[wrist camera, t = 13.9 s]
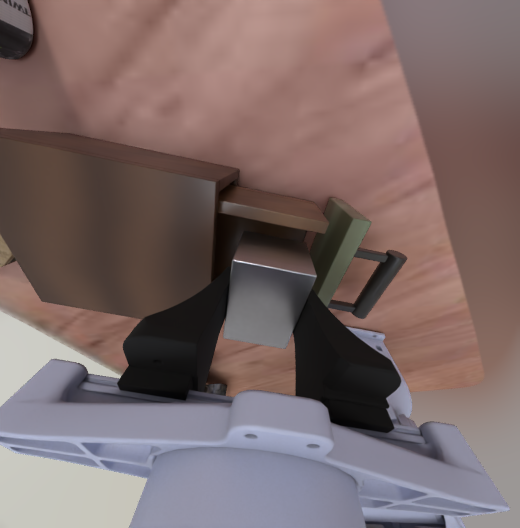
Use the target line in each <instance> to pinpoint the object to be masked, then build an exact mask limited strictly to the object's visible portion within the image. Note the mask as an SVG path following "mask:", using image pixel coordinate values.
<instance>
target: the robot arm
mask: <svg viewBox="0 0 520 528" xmlns="http://www.w3.org/2000/svg"><path fill="white" fill-rule="evenodd" d="M230 275H231V267H230V266H228V267H227V268H226V269H225V270H224V271H223V272H222V273H221V274H220V275H219V276H218V277H217V278H216V279H215V280H214V281H213V282H211V283H210V284H209V285H208V286H206V287H205V288H204V289H203V290H201V291H200V292H198V293H197V294H195V295H194V296H192V297H190V298H189V299H187V300H185V301H183V302H181V303H179V304H177V305H175V306H173V307H170V308H168V309H166V310H163V311H160V312H158V313H155V314H152V315H149V316H146V317H144V318H143V320H142V321H141V322H140V323H139V324H138V325H137V326H136V327H135V328H134V329H133V331H132V332H131V333H130V335H129V336H128V337H127V338H126V340H125V341H124V343H123V350H124V353H125V356H126V359H127V361H128V364H129V366H128V368H127V369H126V370H125V372H124V373H123V375H122V376H121V378H120V379H119V378H112V377H106V376H100V375H94V374H88V371H87V369H86V367H85V366H84V365H82V364H80V363H76V362H70V361H64V360H58V359H51V360H50V361H49V362H48V363H47V364H46V365H45V366H44V367H43V368H42V369H40V370H39V371H38V372H37V373H36V374H35V375H34V376H33V377H32V378H31V379H30V380H29V381H28V382H27V383H26V384H25V385H23V386H22V387H21V388H20V389H19V390H18V391H17V392H16V393H15V394H14V395H13V396H12V397H11V398H10V399H8V401H6V402H5V403H4V404H3V405H2V406H1V407H0V445H2V446H4V447H5V448H7V449H9V450H11V451H13V452H15V453H18V454H25V455H31V456H38V457H44V458H50V459H55V460H61V461H66V462H71V463H76V464H81V465H85V466H91V467H95V468H100V469H105V470H109V471H114V472H119V473H124V474H129V475H133V476H138V477H142V478H147V482H146V485H145V487H144V490H143V493H142V495H141V498H140V500H139V503H138V506H137V508H136V511H135V513H134V516H133V518H132V521H131V524H130V526H129V528H466V527H465V525H464V523H463V521H462V519H461V517H467V516H474V515H482V514H490V513H496V512H504V511H509V509H510V508H509V506H508V504H507V503H506V501H505V500H504V498H503V497H502V495H501V494H500V492H499V491H498V489H497V488H496V486H495V485H494V483H493V481H492V480H491V478H490V477H489V476H488V474H487V472H486V471H485V469H484V468H483V466H482V465H481V463H480V462H479V460H478V459H477V457H476V456H475V454H474V453H473V451H472V449H471V448H470V446H469V445H468V443H467V442H466V440H465V439H464V437H463V436H462V434H461V433H460V431H459V430H458V428H457V427H456V426H455V425H452V424H446V423H440V422H426V423H424V424H422V425H421V426H420V427H419V428H418V427H417V426H416V424H415V422H414V421H413V420H411V419H409V417H410V415H411V412H412V401H411V395H410V391H409V389H408V386H407V384H406V382H405V380H404V378H403V376H402V375H401V373H400V371H399V369H398V368H397V366H396V364H395V362H394V360H393V359H392V357H391V355H390V353H389V352H388V350H387V348H386V346H385V344H384V343H383V340H384V338H385V335H384V334H383V333H378V332H373V331H368V330H362V329H357V328H351V327H346V326H344V325H343V324H342V323H341V322H340V321H339V320H338V319H337V318H336V317H335V316H334V315H333V314H332V313H331V312H330V310H329V309H328V308H327V307H326V306H325V305H324V303H323V302H322V301H321V300H320V298H319V297H318V296H317V294H316V293H315V292H314V290H313V289H311V291H310V293H309V296H308V298H307V300H306V303H305V305H304V307H303V310H302V312H301V314H300V317H299V319H298V321H297V323H296V326H295V328H294V330H293V334H294V341H295V360H296V396H292V395H286V394H280V393H274V392H268V391H262V390H246V391H242V392H239V393H238V394H237V395H236V396H235V397H229V396H223V395H217V394H210V393H204V389H205V385H206V381H207V377H208V374H209V370H210V366H211V362H212V358H213V355H214V351H215V347H216V343H217V340H218V336H219V333H220V330H221V327H222V325H223V322H224V319H225V317H226V309H227V300H228V292H229V283H230Z"/></svg>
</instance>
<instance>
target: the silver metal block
mask: <svg viewBox="0 0 520 528" xmlns="http://www.w3.org/2000/svg"><path fill="white" fill-rule="evenodd" d="M316 277H317V275H316V272H315V269H314V266H313V263H312V260H311V257H310V254H309V251H308V248H307V245H306V243H304V242H299V241H294V240H289V239H284V238H279V237H274V236H269V235H264V234H259V233H254V232H249V231H243V234H242V236H241V239H240V241H239V244H238V247H237V249H236V252H235V254H234V257H233V260H232V267H231V275H230V283H229V292H228V300H227V309H226V317H225V326H224V334H223V338H225V339H231V340H237V341H242V342H248V343H254V344H260V345H265V346H271V347H277V348H282V349H286V347H287V344H288V342H289V340H290V337H291V335H292V333H293V330H294V328H295V326H296V323H297V321H298V319H299V317H300V314H301V312H302V310H303V307H304V305H305V303H306V300H307V298H308V296H309V293H310V291H311V289H312V286H313V284H314V282H315V279H316Z"/></svg>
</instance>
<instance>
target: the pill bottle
mask: <svg viewBox="0 0 520 528" xmlns="http://www.w3.org/2000/svg"><path fill="white" fill-rule="evenodd" d="M32 39H33V23H32V16H31V12H30V8H29V4H28V1H27V0H0V57H1V58H5V59H19V58H20V57H22V56H24V55H25V54H26V53H27V52H28V50H29V49H30V46H31V43H32Z"/></svg>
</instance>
